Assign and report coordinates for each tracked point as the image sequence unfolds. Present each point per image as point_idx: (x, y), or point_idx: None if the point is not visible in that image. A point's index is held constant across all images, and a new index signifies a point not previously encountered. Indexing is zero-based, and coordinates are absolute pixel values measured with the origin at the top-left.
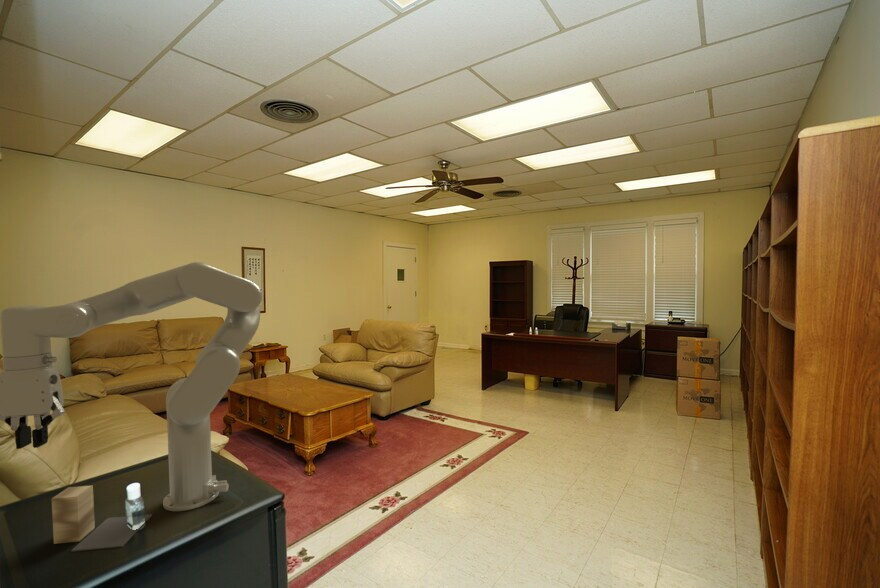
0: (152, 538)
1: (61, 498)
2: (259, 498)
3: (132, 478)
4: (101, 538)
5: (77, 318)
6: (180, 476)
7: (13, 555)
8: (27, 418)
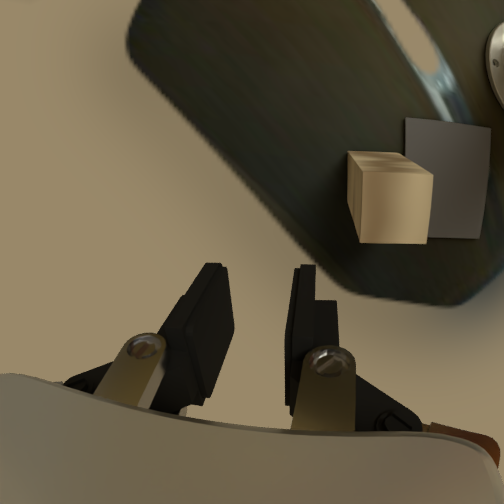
0: None
1: (386, 242)
2: None
3: None
4: (436, 206)
5: None
6: None
7: (288, 223)
8: (147, 383)
